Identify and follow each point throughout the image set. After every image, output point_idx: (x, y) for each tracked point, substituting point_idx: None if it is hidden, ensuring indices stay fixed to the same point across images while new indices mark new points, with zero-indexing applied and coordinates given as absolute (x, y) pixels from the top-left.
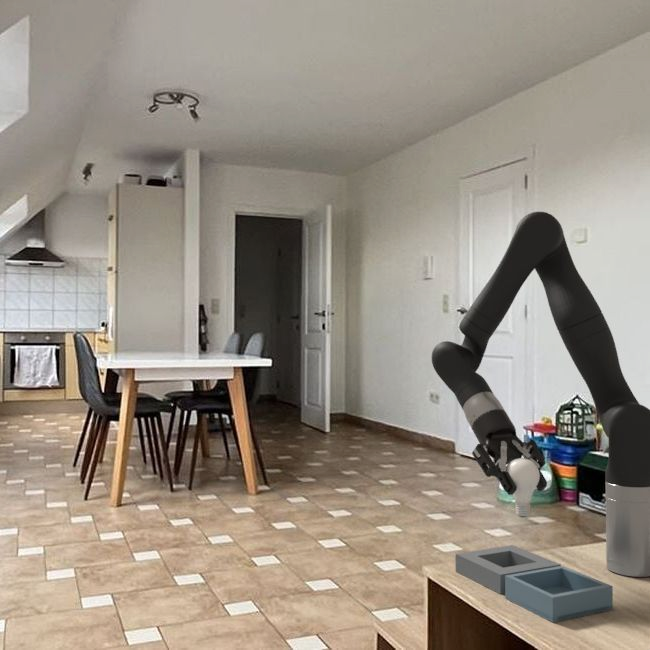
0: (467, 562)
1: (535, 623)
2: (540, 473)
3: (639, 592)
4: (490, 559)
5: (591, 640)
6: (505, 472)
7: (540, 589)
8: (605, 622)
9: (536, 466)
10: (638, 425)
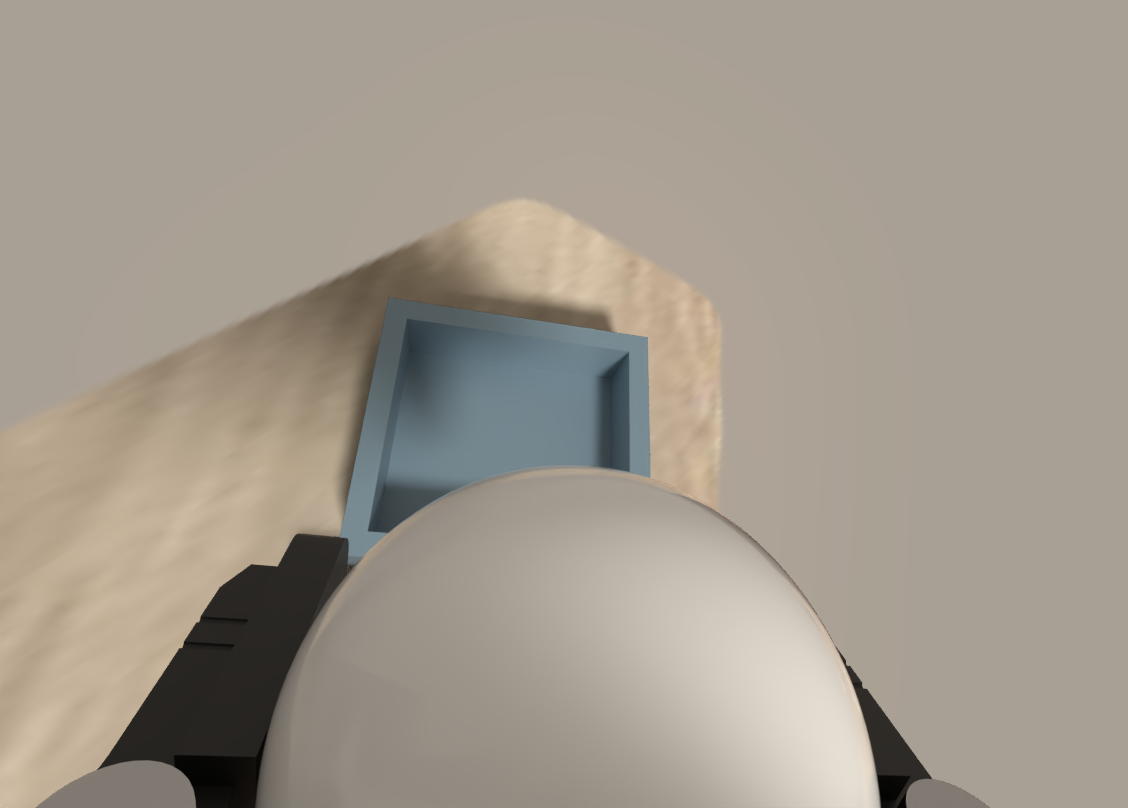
0: None
1: (667, 392)
2: (225, 662)
3: (142, 383)
4: None
5: (614, 261)
6: (902, 765)
7: (632, 403)
8: (495, 300)
9: (431, 534)
10: None
